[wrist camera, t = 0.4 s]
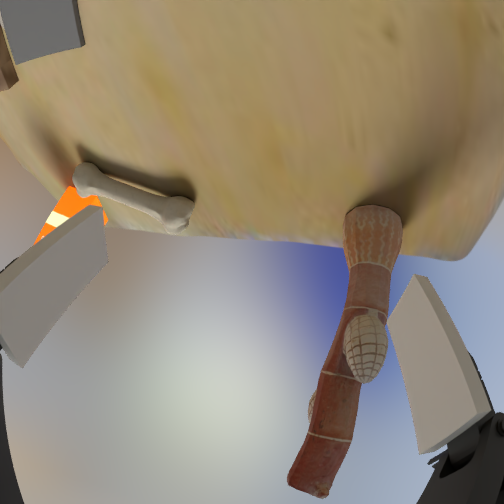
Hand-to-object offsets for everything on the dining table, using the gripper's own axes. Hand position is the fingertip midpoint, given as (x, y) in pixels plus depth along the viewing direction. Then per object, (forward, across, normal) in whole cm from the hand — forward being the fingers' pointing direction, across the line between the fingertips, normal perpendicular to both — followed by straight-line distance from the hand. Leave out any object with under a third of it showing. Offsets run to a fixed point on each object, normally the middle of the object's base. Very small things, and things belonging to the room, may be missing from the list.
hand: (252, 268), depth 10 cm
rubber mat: (+10, -27, +18) cm, 34 cm away
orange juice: (+32, -34, -15) cm, 50 cm away
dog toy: (+26, -19, -7) cm, 33 cm away
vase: (+21, +12, -5) cm, 25 cm away
